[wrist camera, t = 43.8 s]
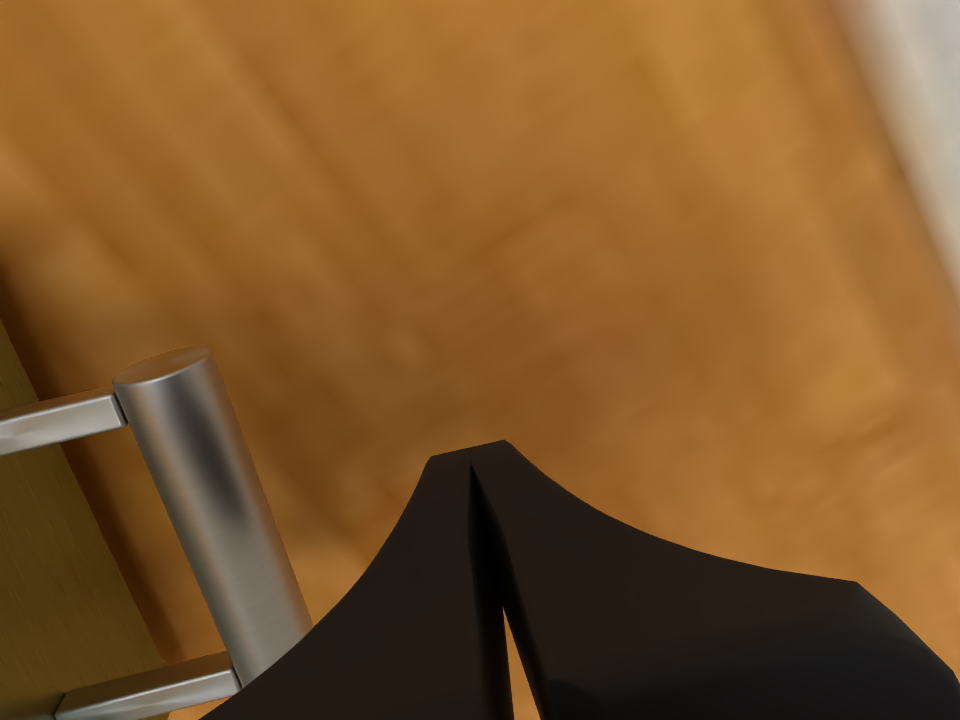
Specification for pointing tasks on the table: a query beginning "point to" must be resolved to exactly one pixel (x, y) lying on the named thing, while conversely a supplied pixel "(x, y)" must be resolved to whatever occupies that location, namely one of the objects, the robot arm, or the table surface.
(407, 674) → the robot arm
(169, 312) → the table surface
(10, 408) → the drawer
